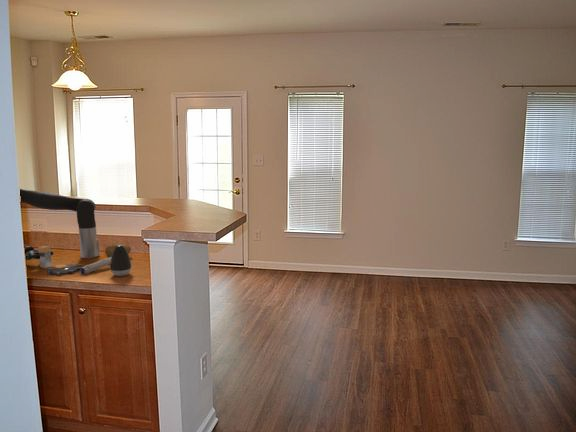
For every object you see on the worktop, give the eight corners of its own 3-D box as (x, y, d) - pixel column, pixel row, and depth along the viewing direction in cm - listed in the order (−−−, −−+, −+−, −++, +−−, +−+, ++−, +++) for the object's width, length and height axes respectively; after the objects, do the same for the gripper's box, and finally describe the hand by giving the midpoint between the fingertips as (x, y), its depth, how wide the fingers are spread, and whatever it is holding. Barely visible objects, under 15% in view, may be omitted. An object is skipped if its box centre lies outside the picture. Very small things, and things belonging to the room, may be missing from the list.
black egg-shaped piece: (111, 278, 235) (109, 248, 233) (110, 273, 245) (108, 244, 242) (133, 276, 239) (131, 246, 237) (130, 271, 249) (129, 242, 246)
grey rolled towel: (78, 266, 243) (118, 250, 263) (80, 278, 245) (120, 261, 265) (84, 268, 240) (124, 251, 260) (87, 280, 242) (126, 262, 262)
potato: (135, 257, 276) (134, 241, 274) (111, 263, 264) (110, 246, 262) (126, 255, 281) (125, 239, 279) (102, 260, 269) (101, 244, 267)
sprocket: (72, 264, 261) (72, 261, 260) (88, 270, 250) (88, 267, 250) (40, 271, 248) (40, 268, 248) (55, 277, 237) (55, 274, 237)
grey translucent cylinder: (46, 265, 259) (44, 245, 257) (51, 266, 257) (50, 246, 255) (39, 267, 255) (38, 247, 253) (45, 268, 254) (43, 248, 252)
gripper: (11, 248, 253) (34, 251, 248) (33, 243, 266) (56, 245, 261) (12, 262, 254) (35, 265, 249) (34, 256, 267) (57, 258, 262)
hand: (46, 255), depth 255 cm, fingers open, 8 cm apart
